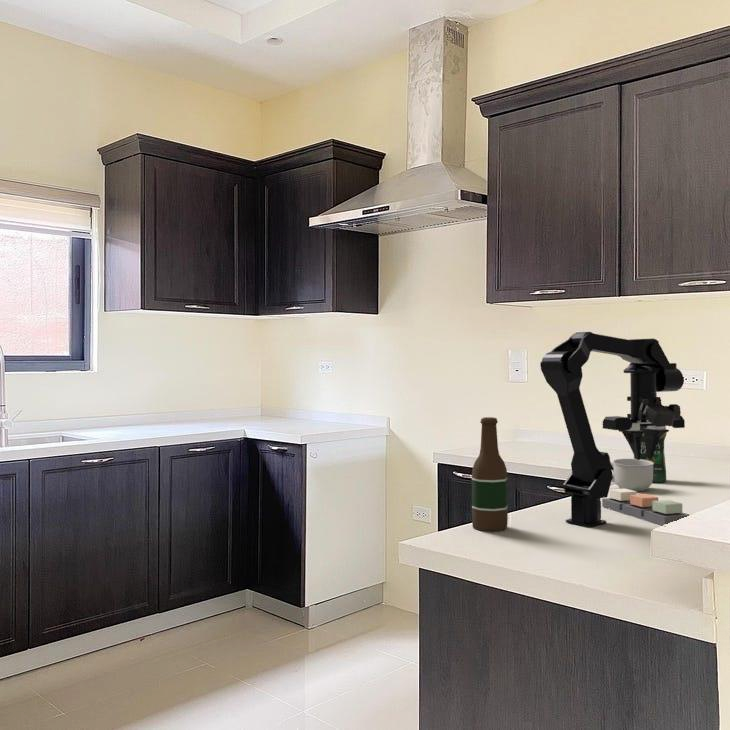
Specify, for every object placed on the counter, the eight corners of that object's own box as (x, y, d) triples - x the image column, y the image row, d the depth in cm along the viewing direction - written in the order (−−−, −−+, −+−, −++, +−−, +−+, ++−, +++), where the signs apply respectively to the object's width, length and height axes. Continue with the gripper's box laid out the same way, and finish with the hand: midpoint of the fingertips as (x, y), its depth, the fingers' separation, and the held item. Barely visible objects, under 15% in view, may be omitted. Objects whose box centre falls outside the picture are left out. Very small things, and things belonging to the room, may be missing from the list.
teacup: (656, 488, 209) (656, 459, 209) (650, 494, 200) (649, 464, 200) (606, 484, 216) (605, 456, 216) (597, 490, 207) (597, 461, 207)
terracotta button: (658, 505, 172) (658, 497, 172) (642, 507, 171) (642, 498, 171) (646, 502, 176) (646, 493, 176) (630, 503, 175) (630, 495, 175)
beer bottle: (503, 523, 166) (502, 416, 165) (511, 531, 158) (510, 418, 158) (469, 524, 165) (468, 416, 165) (475, 532, 157) (474, 419, 157)
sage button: (682, 512, 164) (682, 503, 164) (665, 513, 163) (665, 504, 163) (668, 508, 169) (668, 499, 169) (652, 510, 167) (652, 501, 167)
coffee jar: (631, 482, 220) (631, 419, 220) (632, 478, 227) (632, 417, 227) (666, 483, 216) (666, 420, 216) (666, 479, 223) (666, 418, 223)
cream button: (636, 499, 180) (636, 491, 180) (620, 500, 178) (620, 492, 178) (625, 496, 184) (625, 488, 184) (609, 497, 183) (609, 489, 183)
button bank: (691, 524, 163) (691, 515, 163) (664, 526, 161) (664, 517, 161) (626, 504, 186) (626, 496, 186) (602, 506, 184) (602, 498, 184)
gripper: (630, 394, 163) (631, 465, 163) (701, 393, 168) (701, 461, 168) (601, 392, 174) (601, 459, 174) (668, 391, 179) (668, 456, 179)
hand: (643, 459), depth 173 cm, fingers open, 3 cm apart
